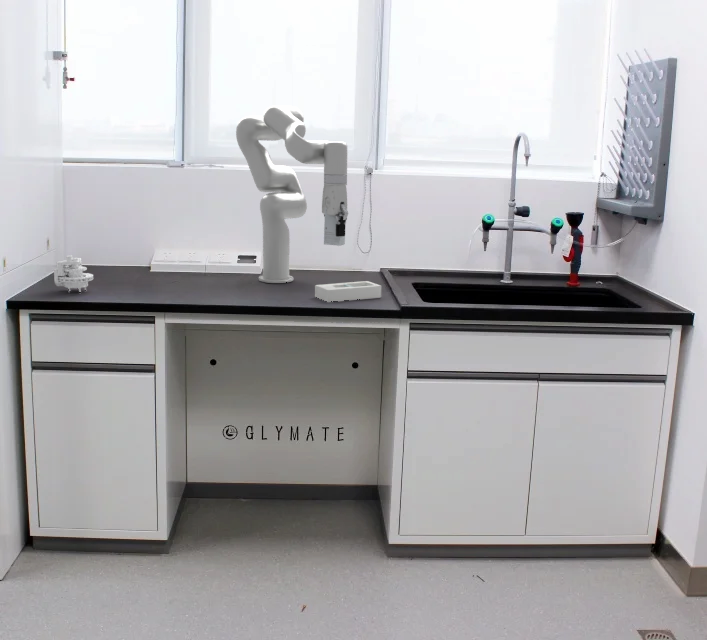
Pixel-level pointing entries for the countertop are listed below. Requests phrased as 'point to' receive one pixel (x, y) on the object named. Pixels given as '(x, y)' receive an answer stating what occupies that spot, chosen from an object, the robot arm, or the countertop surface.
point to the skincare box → (332, 231)
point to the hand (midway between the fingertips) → (335, 234)
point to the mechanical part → (71, 274)
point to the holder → (348, 291)
